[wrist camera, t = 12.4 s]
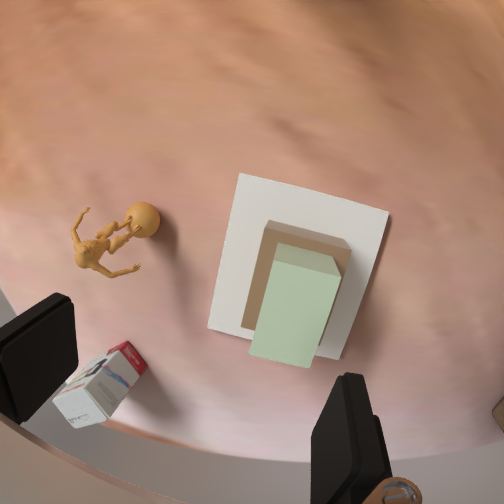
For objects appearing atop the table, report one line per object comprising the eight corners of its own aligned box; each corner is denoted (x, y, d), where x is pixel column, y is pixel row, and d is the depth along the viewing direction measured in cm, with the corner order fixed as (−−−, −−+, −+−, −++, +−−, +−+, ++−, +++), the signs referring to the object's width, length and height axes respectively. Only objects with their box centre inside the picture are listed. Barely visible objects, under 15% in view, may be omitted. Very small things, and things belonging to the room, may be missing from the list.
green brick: (277, 242, 29) (273, 260, 23) (332, 256, 28) (341, 277, 22) (257, 321, 31) (248, 354, 25) (307, 334, 30) (309, 368, 25)
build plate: (241, 172, 34) (230, 172, 28) (386, 211, 32) (404, 219, 27) (209, 323, 38) (195, 348, 32) (337, 354, 37) (342, 384, 31)
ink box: (128, 338, 41) (83, 386, 29) (149, 367, 41) (111, 419, 30) (93, 357, 43) (49, 400, 31) (112, 382, 43) (73, 429, 32)
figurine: (184, 231, 36) (136, 259, 24) (153, 266, 38) (99, 303, 26) (137, 180, 35) (74, 187, 24) (108, 216, 37) (44, 236, 25)
